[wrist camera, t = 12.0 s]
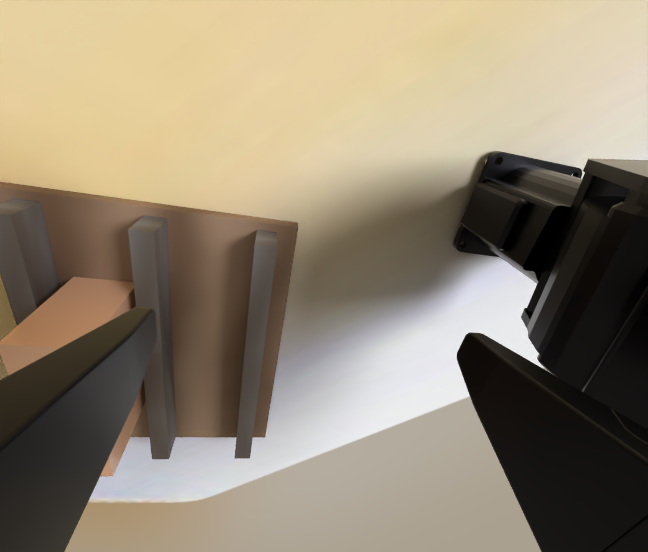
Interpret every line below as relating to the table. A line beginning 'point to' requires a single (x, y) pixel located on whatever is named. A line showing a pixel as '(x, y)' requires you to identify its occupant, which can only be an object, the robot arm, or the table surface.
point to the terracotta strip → (73, 334)
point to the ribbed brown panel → (166, 298)
